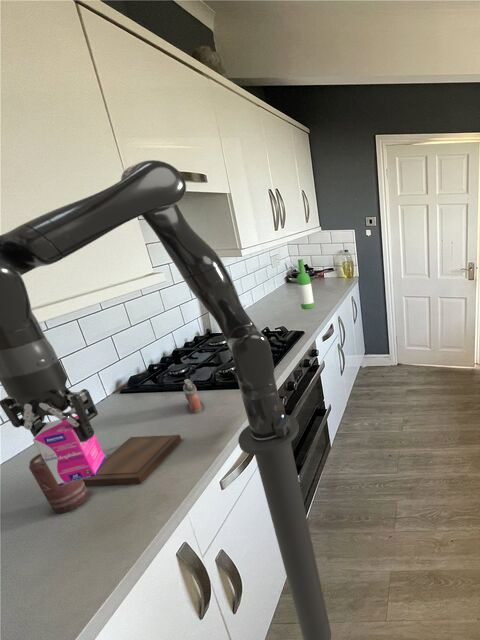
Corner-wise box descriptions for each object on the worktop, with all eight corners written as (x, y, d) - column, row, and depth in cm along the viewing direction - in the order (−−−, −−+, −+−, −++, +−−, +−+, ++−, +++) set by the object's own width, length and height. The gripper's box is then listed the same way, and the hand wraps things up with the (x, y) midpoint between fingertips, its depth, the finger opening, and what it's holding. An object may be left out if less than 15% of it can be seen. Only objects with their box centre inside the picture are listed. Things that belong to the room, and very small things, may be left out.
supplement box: (57, 487, 67) (30, 439, 62) (72, 466, 72) (47, 421, 67) (96, 476, 69) (71, 429, 65) (107, 457, 74) (85, 412, 70)
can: (76, 513, 79) (50, 464, 74) (46, 515, 78) (18, 466, 73) (97, 491, 84) (75, 445, 79) (70, 493, 84) (45, 447, 79)
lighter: (187, 404, 119) (179, 378, 115) (198, 400, 121) (190, 375, 117) (192, 414, 113) (183, 387, 109) (204, 410, 115) (195, 383, 112)
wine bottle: (298, 308, 214) (290, 260, 203) (308, 305, 220) (301, 258, 209) (307, 310, 210) (299, 261, 199) (317, 307, 216) (310, 259, 205)
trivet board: (181, 440, 101) (179, 434, 100) (141, 483, 86) (138, 476, 85) (132, 442, 101) (130, 436, 100) (83, 486, 86) (80, 479, 85)
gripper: (88, 353, 65) (120, 425, 71) (9, 357, 65) (48, 430, 71) (49, 373, 58) (88, 451, 64) (-40, 378, 58) (8, 456, 64)
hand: (67, 440), depth 67 cm, fingers closed on supplement box, 7 cm apart
